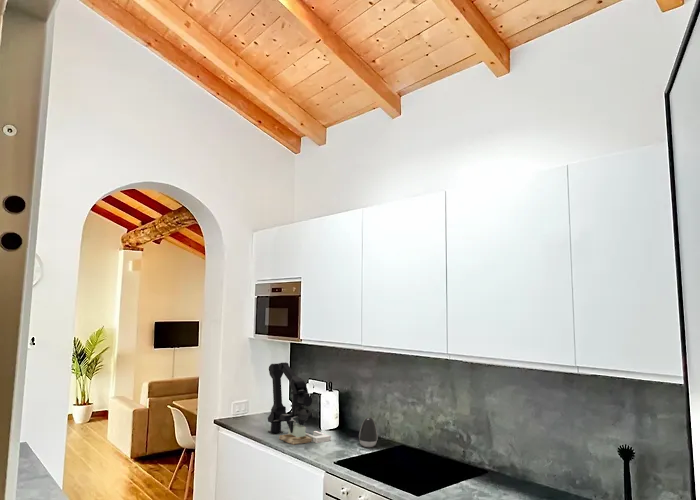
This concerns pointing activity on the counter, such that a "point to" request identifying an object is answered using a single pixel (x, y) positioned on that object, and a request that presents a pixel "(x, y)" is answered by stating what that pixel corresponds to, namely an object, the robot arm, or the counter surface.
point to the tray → (295, 439)
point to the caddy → (297, 430)
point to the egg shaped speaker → (368, 433)
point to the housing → (318, 437)
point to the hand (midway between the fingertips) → (295, 432)
